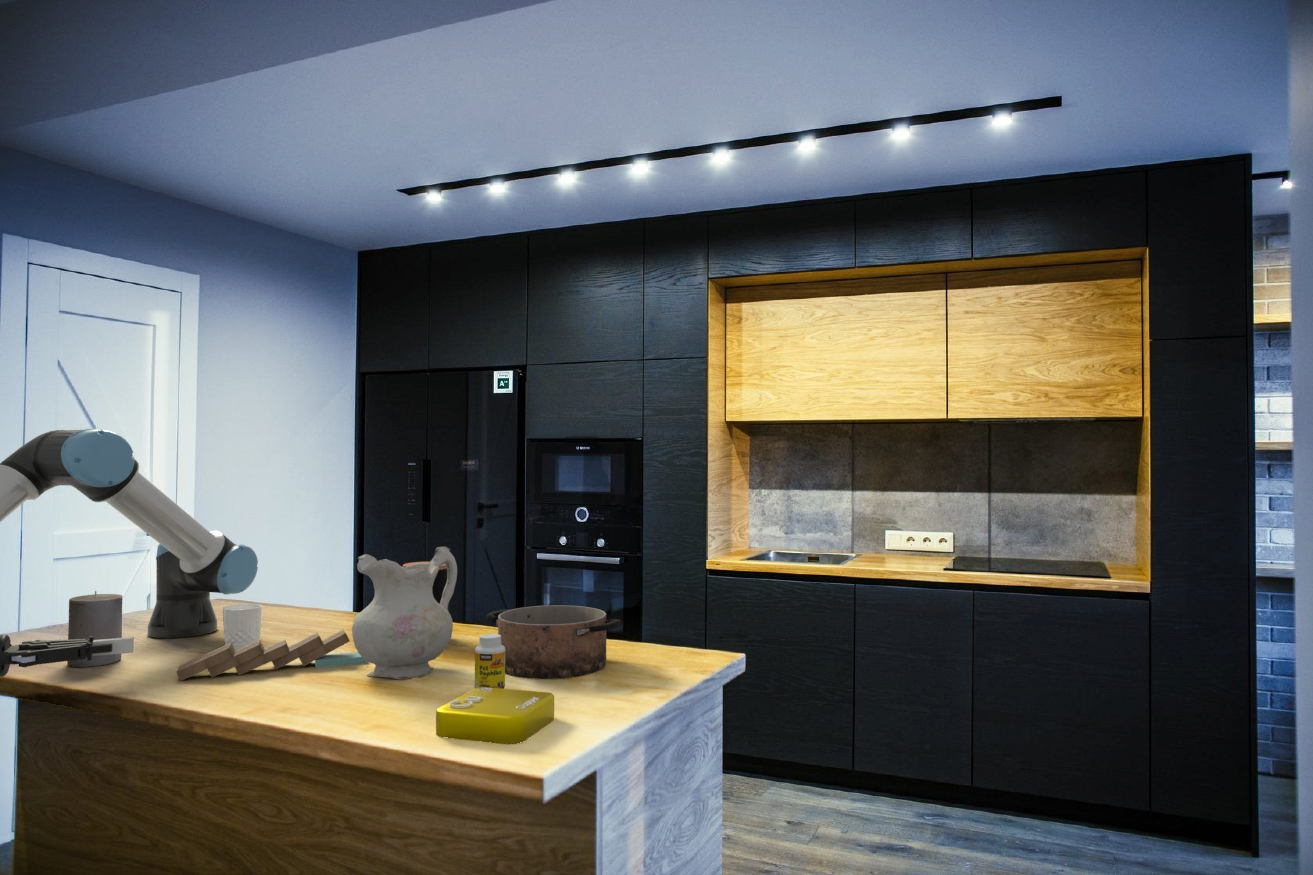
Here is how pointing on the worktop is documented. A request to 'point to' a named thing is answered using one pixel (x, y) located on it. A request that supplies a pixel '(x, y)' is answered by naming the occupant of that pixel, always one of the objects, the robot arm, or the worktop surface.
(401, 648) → the ceramic pitcher
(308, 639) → the domino
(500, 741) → the element tile
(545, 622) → the cooking pot
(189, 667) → the domino
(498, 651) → the supplement bottle
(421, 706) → the worktop surface
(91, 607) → the pillar candle
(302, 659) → the domino
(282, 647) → the domino
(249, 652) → the domino
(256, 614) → the white cup
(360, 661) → the domino
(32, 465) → the robot arm
